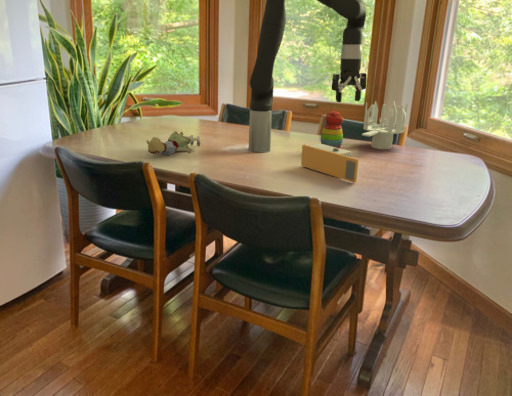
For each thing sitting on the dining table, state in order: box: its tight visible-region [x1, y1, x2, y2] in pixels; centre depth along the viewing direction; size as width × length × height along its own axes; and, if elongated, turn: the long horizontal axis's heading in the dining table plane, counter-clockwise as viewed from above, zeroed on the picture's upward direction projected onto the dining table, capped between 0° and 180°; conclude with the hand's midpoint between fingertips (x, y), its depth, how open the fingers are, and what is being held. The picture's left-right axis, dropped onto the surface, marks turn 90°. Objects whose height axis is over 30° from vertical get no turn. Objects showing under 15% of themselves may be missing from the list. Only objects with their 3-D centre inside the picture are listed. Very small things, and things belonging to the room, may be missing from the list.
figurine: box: [146, 130, 201, 156], centre depth 191 cm, size 25×8×30 cm
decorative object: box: [361, 100, 408, 150], centre depth 206 cm, size 18×29×20 cm, turn 143°
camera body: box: [308, 142, 353, 173], centre depth 171 cm, size 17×8×9 cm, turn 38°
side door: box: [300, 144, 359, 183], centre depth 165 cm, size 26×2×8 cm, turn 38°
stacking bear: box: [320, 110, 345, 150], centre depth 197 cm, size 11×10×18 cm
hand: (348, 101), depth 178 cm, fingers open, 8 cm apart
